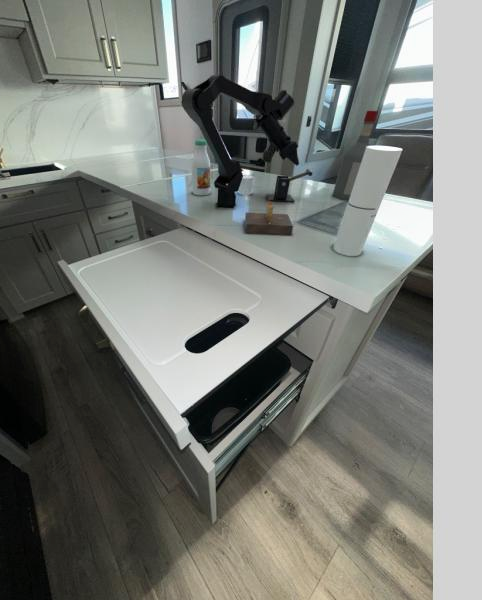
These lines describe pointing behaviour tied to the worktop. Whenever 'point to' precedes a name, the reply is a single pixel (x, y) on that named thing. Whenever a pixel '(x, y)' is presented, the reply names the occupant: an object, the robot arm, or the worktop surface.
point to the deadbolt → (269, 211)
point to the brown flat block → (268, 224)
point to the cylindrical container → (366, 198)
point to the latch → (301, 175)
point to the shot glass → (246, 185)
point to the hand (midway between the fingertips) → (297, 164)
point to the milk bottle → (201, 169)
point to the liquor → (353, 160)
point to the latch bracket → (281, 191)
